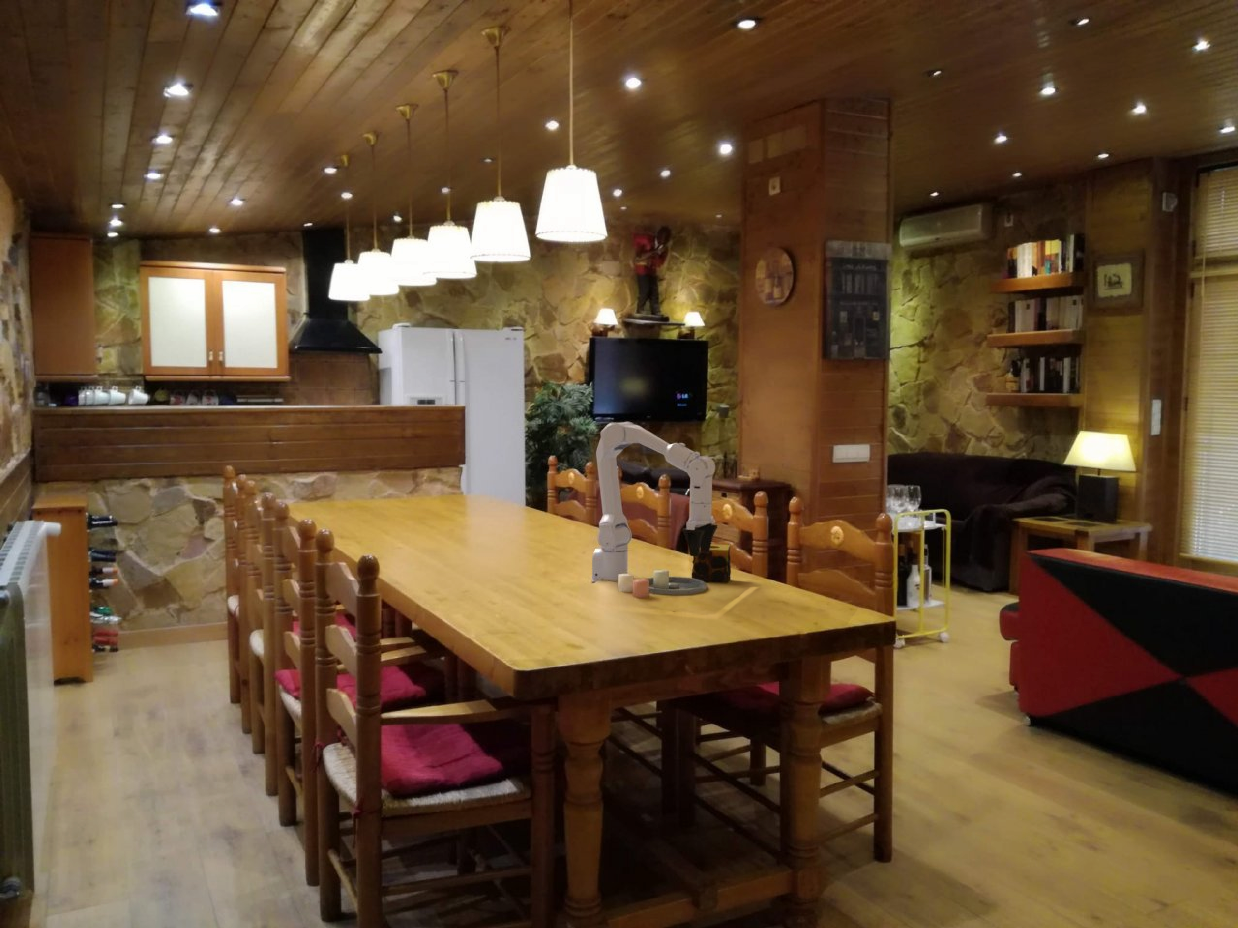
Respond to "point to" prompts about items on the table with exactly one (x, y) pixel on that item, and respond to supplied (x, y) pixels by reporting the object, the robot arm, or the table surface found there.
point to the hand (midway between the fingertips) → (699, 553)
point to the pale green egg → (661, 579)
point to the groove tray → (679, 586)
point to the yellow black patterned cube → (713, 564)
